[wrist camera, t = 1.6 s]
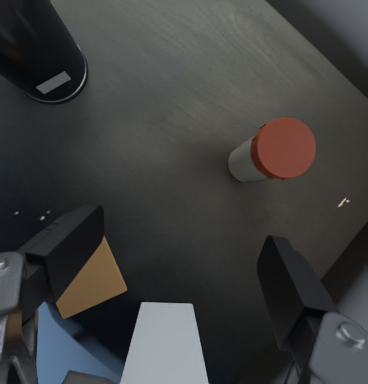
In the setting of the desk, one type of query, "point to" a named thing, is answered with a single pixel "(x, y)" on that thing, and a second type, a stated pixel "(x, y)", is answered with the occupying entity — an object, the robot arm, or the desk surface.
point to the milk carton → (165, 347)
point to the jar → (244, 164)
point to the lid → (283, 148)
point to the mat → (93, 283)
